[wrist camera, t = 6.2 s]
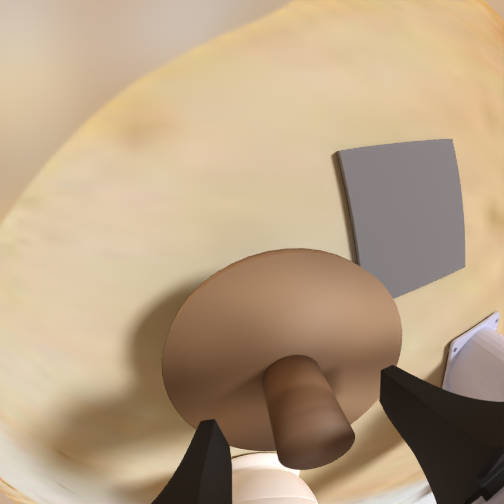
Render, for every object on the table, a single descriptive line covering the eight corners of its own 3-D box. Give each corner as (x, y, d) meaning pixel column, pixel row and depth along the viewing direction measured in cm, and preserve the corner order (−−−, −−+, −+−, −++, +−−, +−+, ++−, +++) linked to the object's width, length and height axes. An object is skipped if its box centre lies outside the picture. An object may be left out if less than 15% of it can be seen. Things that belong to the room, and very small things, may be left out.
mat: (461, 265, 17) (465, 266, 17) (362, 306, 17) (365, 309, 17) (448, 139, 15) (452, 138, 15) (336, 151, 15) (339, 150, 14)
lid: (385, 406, 14) (423, 461, 9) (205, 451, 14) (204, 520, 9) (390, 225, 12) (476, 248, 6) (131, 279, 11) (73, 341, 6)
